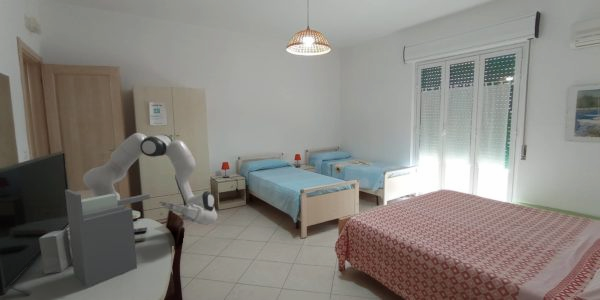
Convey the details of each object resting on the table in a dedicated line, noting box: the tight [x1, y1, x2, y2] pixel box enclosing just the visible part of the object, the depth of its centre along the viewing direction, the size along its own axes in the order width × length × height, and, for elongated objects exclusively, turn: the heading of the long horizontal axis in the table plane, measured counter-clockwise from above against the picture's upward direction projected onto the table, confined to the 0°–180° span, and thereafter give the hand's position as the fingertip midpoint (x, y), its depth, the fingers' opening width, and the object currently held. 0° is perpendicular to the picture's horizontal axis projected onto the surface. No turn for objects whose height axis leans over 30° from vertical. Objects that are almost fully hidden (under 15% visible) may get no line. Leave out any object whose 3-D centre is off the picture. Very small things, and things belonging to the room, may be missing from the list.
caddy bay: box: [64, 189, 138, 289], centre depth 115 cm, size 14×18×36 cm
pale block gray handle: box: [81, 193, 151, 214], centre depth 119 cm, size 4×26×6 cm, turn 143°
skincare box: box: [38, 229, 73, 275], centre depth 120 cm, size 8×7×16 cm
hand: (167, 205), depth 137 cm, fingers open, 8 cm apart
